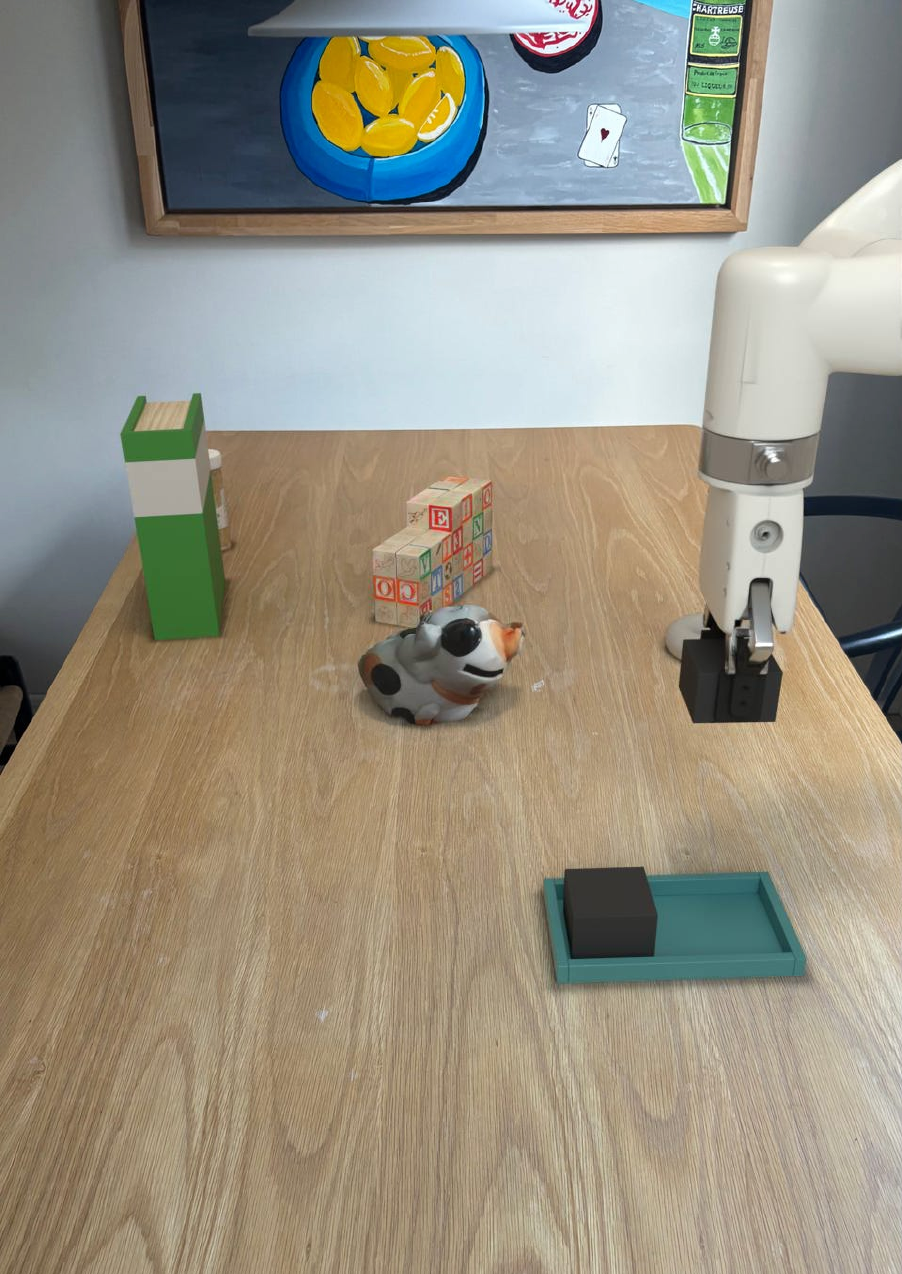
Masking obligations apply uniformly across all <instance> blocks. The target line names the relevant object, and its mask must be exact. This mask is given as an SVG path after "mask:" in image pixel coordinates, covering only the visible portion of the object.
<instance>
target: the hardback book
mask: <svg viewBox="0 0 902 1274" xmlns="http://www.w3.org/2000/svg"><path fill="white" fill-rule="evenodd" d="M129 412H130V413H129V414H128V416H127V419H126V421H125V422H124V425H123V427H122V430H121V431H120V439H121V440H120V441H121V448H122V452H123V459H124V464H125V470H126V476H127V483H128V488H129V495H130V499H131V506H132V512H133V518H134V523H135V529H136V530H135V531H136V535H137V541H138V547H139V555H140V559H141V565H142V566H141V567H142V571H143V577H144V582H145V588H146V589H145V590H146V595H147V596H146V597H147V600H148V601H147V602H148V606H149V614H150V619H151V626H152V630H153V637H154V640H155V641H163V640H176V639H177V640H179V639H192V638H206V637H220V631H221V622H222V613H223V603H224V597H225V596H224V595H225V586H226V578H225V577H226V575H225V569H224V562H223V553H222V551H221V545H220V537H219V530H218V522H217V514H216V506H215V499H214V491H213V483H212V475H211V468H210V460H209V452H208V449H209V446H208V439H207V438H208V437H207V431H206V429H207V428H206V421H205V415H204V406H203V398H202V393H201V392H197V393H196V392H194V393H192V396H191V399H190V400H176V401H174V400H172V401H154V402H153V401H151V402H147V396H146V395H137V397H136V398H135V401H134V404H133V406H132V407H131V410H130V411H129Z"/></svg>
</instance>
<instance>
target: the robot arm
mask: <svg viewBox="0 0 902 1274" xmlns="http://www.w3.org/2000/svg"><path fill="white" fill-rule="evenodd" d="M721 263H722V264H721V265H720V268H719V270H718V272H717V277H716V283H715V291H714V302H713V311H712V312H713V313H712V320H711V332H710V342H709V351H708V362H707V373H706V383H705V393H704V403H703V411H702V425H701V432H700V433H701V434H700V442H699V443H700V444H699V445H700V446H699V454H698V464H697V473H696V474H697V475H696V476H697V478H698V479H699V480H700V481H701V482H703V483H705V484H708V486H709V487H708V488H707V498H706V503H705V510H704V519H703V525H702V535H701V542H700V543H701V544H700V552H699V553H700V554H699V565H698V567H699V568H698V585H699V589H700V592H701V595H702V597H703V600H704V601H705V602H704V603H705V604H704V609H703V612H702V613H703V628H710V630H701V636H700V639H726V641H725V669H720V671H719V679H718V688H717V696H716V705H715V713H714V716H715V719H716V721H717V722H719V723H718V724H736V723H735V722H748V723H758V722H757V721H758V720H759V719H760V717H761V710H762V703H763V696H764V689H765V682H766V675H767V672H768V660H770V655H771V654H772V655H773V652H774V648H775V647H774V645H775V642H774V629H775V630H776V632H777V633H779V634H781V635H787V634H789V633H790V632H791V631H792V629H793V628H794V623H795V616H796V608H797V597H798V590H799V579H800V570H801V569H800V568H801V560H802V547H803V537H804V535H803V532H804V490H803V489H805V488H807V487H809V486H810V485H811V484H812V483H813V481H814V473H815V467H816V461H817V452H818V446H819V440H820V433H821V427H822V423H823V422H822V421H823V416H824V415H823V414H824V408H825V401H826V396H827V395H826V394H827V389H828V382H829V377H830V375H831V374H833V373H837V372H838V373H840V372H841V373H854V374H865V375H875V376H887V377H888V376H889V377H902V158H901V159H899V160H898V161H896V162H894V163H893V164H891V165H890V166H888V167H886V168H884V169H883V170H882V171H881V172H879V173H878V174H877V175H875V176H874V177H873V178H871V179H870V180H869V181H868V182H866V183H865V184H864V185H863V186H861V187H860V188H859V189H857V191H855V192H854V193H853V194H852V195H851V196H849V197H848V198H847V199H846V200H845V201H844V202H842V203H841V204H840V205H839V206H838V207H837V208H835V210H833V211H832V212H831V213H829V215H827V216H826V217H825V218H824V219H823V220H822V221H820V223H819V224H818V225H816V226H815V228H814V229H813V230H811V231H810V232H809V234H808V235H806V237H805V238H804V239H803V240H801V243H799V245H797V246H785V245H784V246H780V245H778V246H776V245H775V246H774V245H773V246H757V247H750V248H744V249H740V250H738V251H735V252H732V253H731V254H730V255H728V256H727V257H726V258H725V259H724V261H723V262H721ZM743 621H748V625H749V628H740V627H741V625H742V622H743ZM773 627H774V629H773ZM737 638H749V642H748V643H747V645H748V646H747V647H742V648H741V649H740V651H739V652H738V654H737Z"/></svg>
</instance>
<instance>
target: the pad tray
mask: <svg viewBox="0 0 902 1274" xmlns="http://www.w3.org/2000/svg"><path fill="white" fill-rule="evenodd" d="M646 876H647V880H648V883H649V886H650V890H651V893H652V897H653V900H654V904H655V907H656V911H657V914H658V919H657V929H656V940H655V950H654V957H627V958H595V959H571V954H570V949H569V943H568V937H567V931H566V926H565V920H564V914H563V894H564V877H554V878H553V877H552V878H551V877H550V878H549V877H547V878H546V877H545V878H543V885H542V886H543V887H542V889H543V890H542V895H543V902H544V903H543V904H544V908H545V916H546V922H547V928H548V929H547V930H548V934H549V940H550V948H551V955H552V960H553V967H554V973H555V979H556V984H582V983H583V984H584V983H586V984H587V983H611V982H612V983H614V982H615V983H616V982H646V981H647V982H648V981H673V980H674V981H676V980H678V981H680V980H681V981H682V980H706V979H707V980H709V979H712V980H713V979H738V978H739V979H740V978H741V979H743V978H744V979H745V978H771V977H774V978H775V977H800V976H804V975H805V970H806V965H807V959H808V958H807V956H806V954H805V952H804V949H803V947H802V944H801V942H800V940H799V938H798V936H797V933H796V931H795V929H794V927H793V924H792V922H791V920H790V918H789V916H788V915H789V914H787V911H786V909H785V906H784V905H783V902H782V899H781V897H780V896H779V893H778V890H777V889H776V886H775V884H774V882H773V880H772V878H771V875H770V873H769V871H744V872H743V871H741V872H712V873H711V872H709V873H681V874H679V873H677V874H675V873H673V874H646Z"/></svg>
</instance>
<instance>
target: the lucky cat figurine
mask: <svg viewBox="0 0 902 1274" xmlns="http://www.w3.org/2000/svg"><path fill="white" fill-rule="evenodd" d="M526 634H527V632H526V631H524V628H523V623H522V622H518V621H513V622H509V623H506V624H504V623H503V622H502V621H501V620H500V619H499V618H498V617H497V616H496V615H494V614H493V613H492V612H490V611H488V610H486V609H485V608H484V607H482V606H479V605H474V604H467V603H466V604H463V605H457V606H448V607H442V608H440V609H437V610H436V611H434V612H433V611H432V610H427V611H425V612H424V613H422V615H421V616H420V622H419V624H418V625H417V627H416V628H407V629H401V630H399V631H397V632H395V633H392V634H390V635H389V636H388V637H386V639H384V640H381V641H379V642H377V643H376V644H374V645H373V646H372V647H370V648H369V649H368V650H367V651H366V652H365V654H362V655H361V656H360V657H361V658H360V659H359V660H358V662H357V668H358V673H359V676H360V678H361V680H362V683H363V684H364V687H366V689H367V691H368V692H369V694H370V696H371V697H372V698H373V700H374V701H375V702H376V703H377V704H378V705H379V706H380V707H381V708H382V709H383V710H384V711H385V713H388V715H389V716H392V717H400V716H403V717H404V718H405V719H406V721H407V722H408V723H409V724H410V725H415V726H421V727H424V726H432V725H436V724H444V723H449V722H457V721H460V720H464V719H466V718H468V717H469V715H470V714H471V712H472V711H474V708H477V707H478V705H479V703H480V702H479V701H480V699H481V698H482V697H483V696H484V695H485V694H486V693H488V692H490V691H492V690H493V688H494V687H495V685H496V684H497V683H499V681H500V680H501V679H502V678H503V676H504V674H505V673H506V670H507V669H506V668H507V667H508V666H509V664H510V663H511V661H512V660H513V658H515V657H516V656H517V655H519V653H520V652H521V651H522V649H523V642H524V639H525V637H526Z"/></svg>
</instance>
